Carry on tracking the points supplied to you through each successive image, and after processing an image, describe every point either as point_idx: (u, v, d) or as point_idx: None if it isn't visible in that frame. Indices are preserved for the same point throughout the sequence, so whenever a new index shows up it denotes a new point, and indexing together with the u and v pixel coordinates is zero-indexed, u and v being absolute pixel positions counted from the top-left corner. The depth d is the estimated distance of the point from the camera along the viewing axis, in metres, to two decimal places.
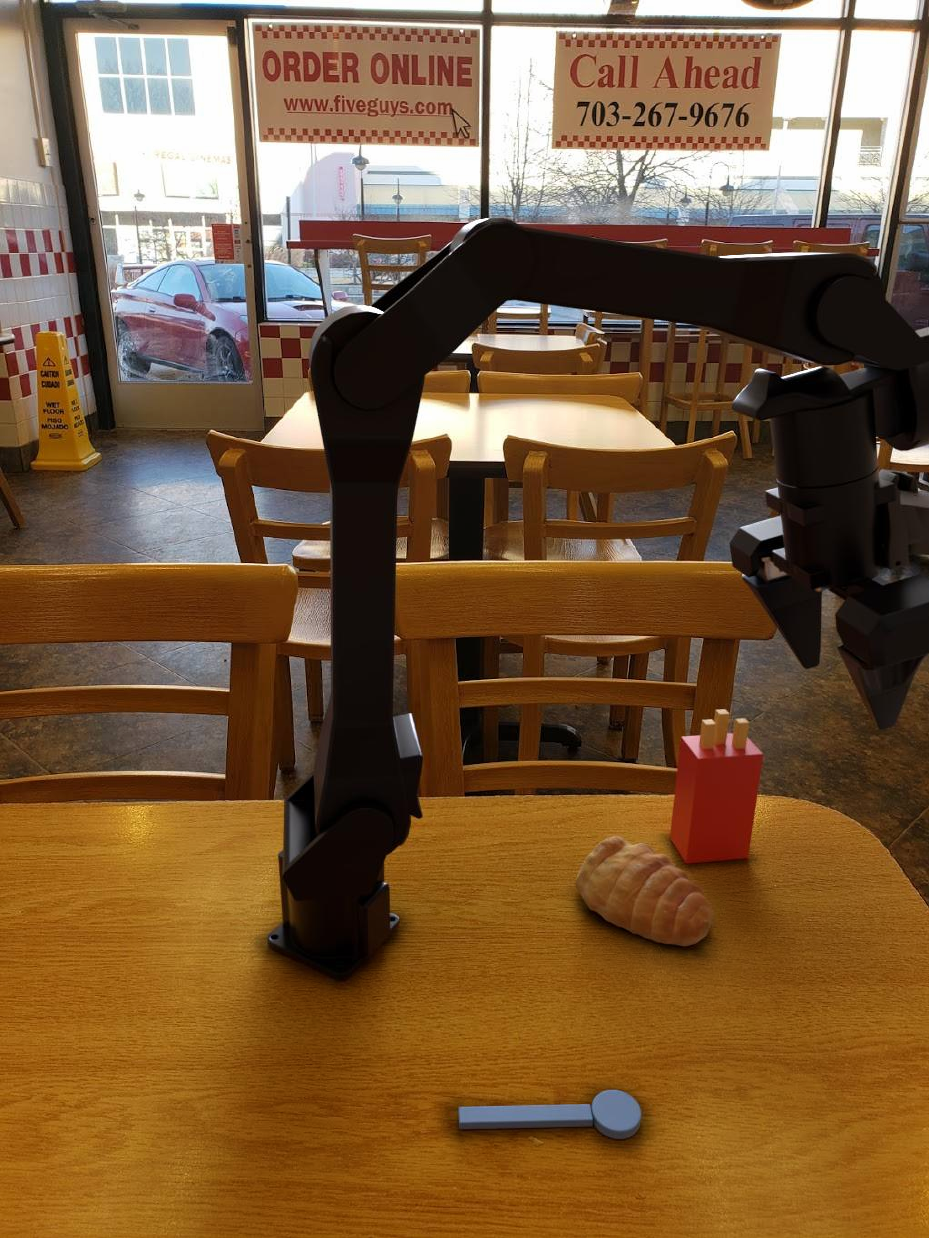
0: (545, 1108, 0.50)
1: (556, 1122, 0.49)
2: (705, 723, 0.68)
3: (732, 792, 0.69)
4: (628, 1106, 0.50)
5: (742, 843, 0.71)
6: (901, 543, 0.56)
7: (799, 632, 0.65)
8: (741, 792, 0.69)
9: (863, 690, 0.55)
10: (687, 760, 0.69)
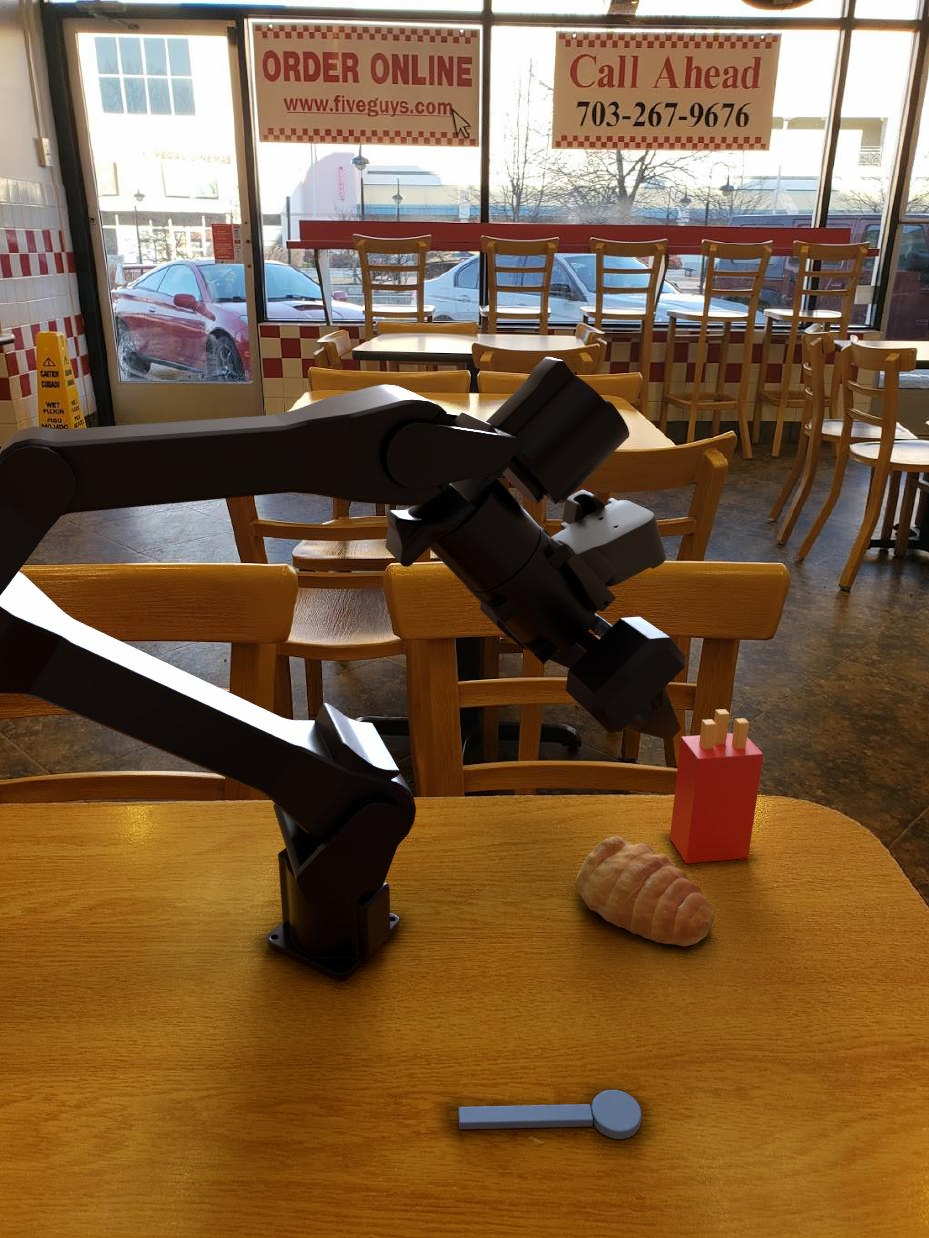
0: (545, 1108, 0.50)
1: (556, 1122, 0.49)
2: (705, 723, 0.68)
3: (732, 792, 0.69)
4: (628, 1106, 0.50)
5: (742, 843, 0.71)
6: (597, 587, 0.57)
7: (578, 658, 0.67)
8: (741, 792, 0.69)
9: (630, 729, 0.58)
10: (687, 760, 0.69)
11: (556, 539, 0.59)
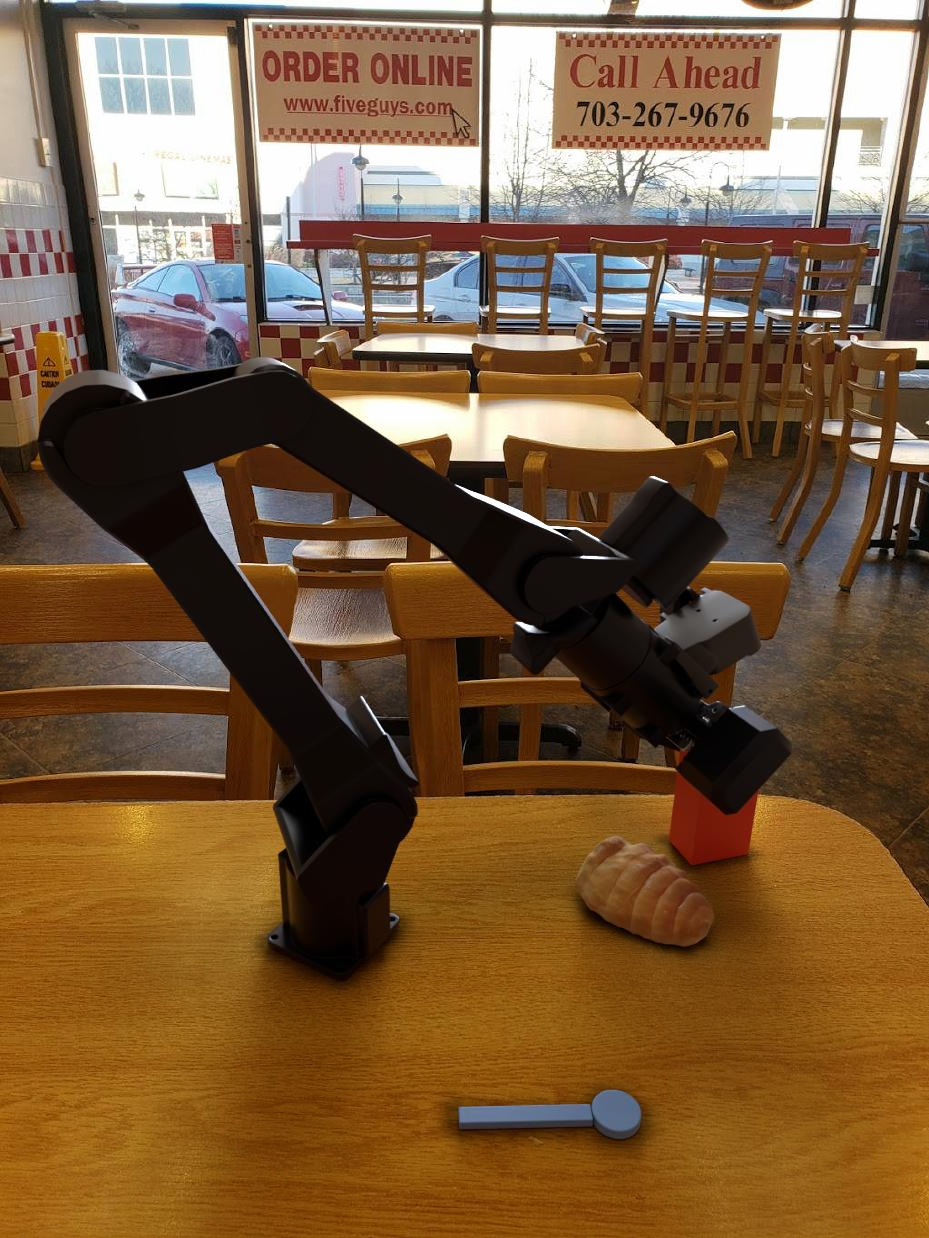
0: (545, 1108, 0.50)
1: (556, 1122, 0.49)
2: None
3: None
4: (628, 1106, 0.50)
5: (743, 840, 0.71)
6: (703, 678, 0.62)
7: None
8: None
9: None
10: None
11: (659, 632, 0.65)
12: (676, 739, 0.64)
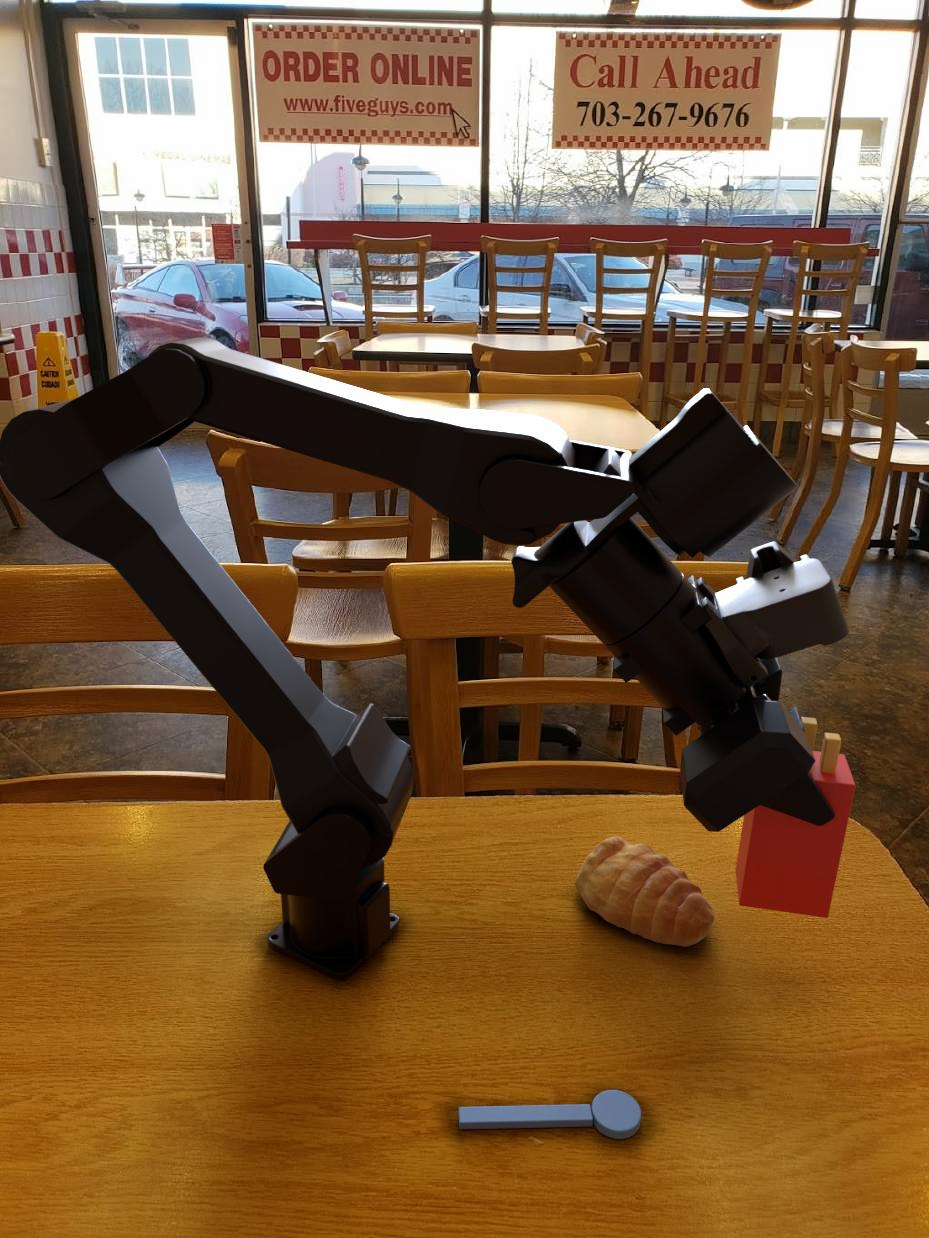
0: (545, 1108, 0.50)
1: (556, 1122, 0.49)
2: None
3: (807, 827, 0.52)
4: (628, 1106, 0.50)
5: (820, 897, 0.54)
6: (742, 659, 0.48)
7: None
8: (821, 830, 0.52)
9: None
10: None
11: (718, 596, 0.51)
12: (704, 731, 0.50)
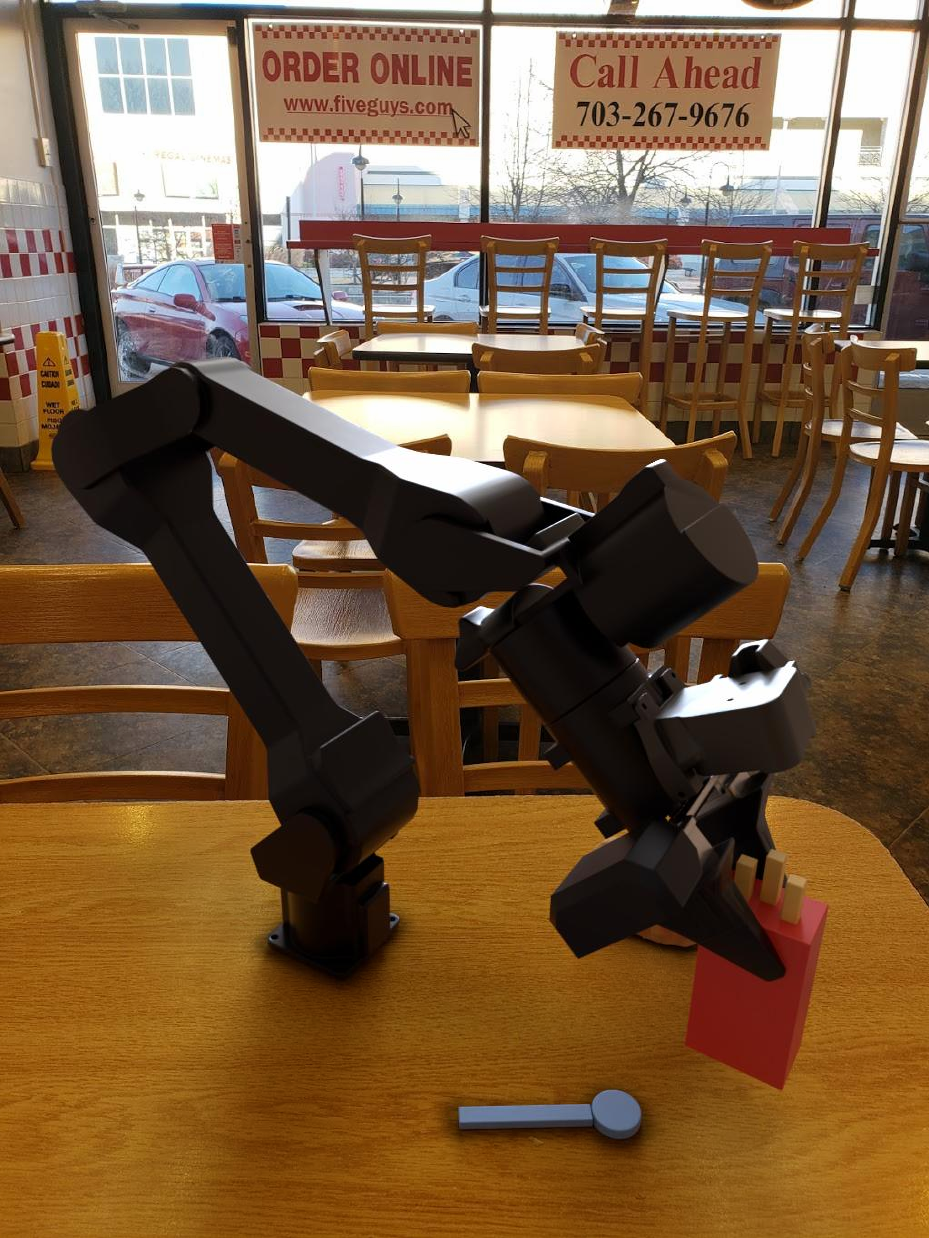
0: (545, 1108, 0.50)
1: (556, 1122, 0.49)
2: (739, 860, 0.45)
3: (756, 979, 0.45)
4: (628, 1106, 0.50)
5: (772, 1063, 0.46)
6: (669, 770, 0.42)
7: None
8: (772, 987, 0.44)
9: None
10: None
11: (681, 692, 0.45)
12: None
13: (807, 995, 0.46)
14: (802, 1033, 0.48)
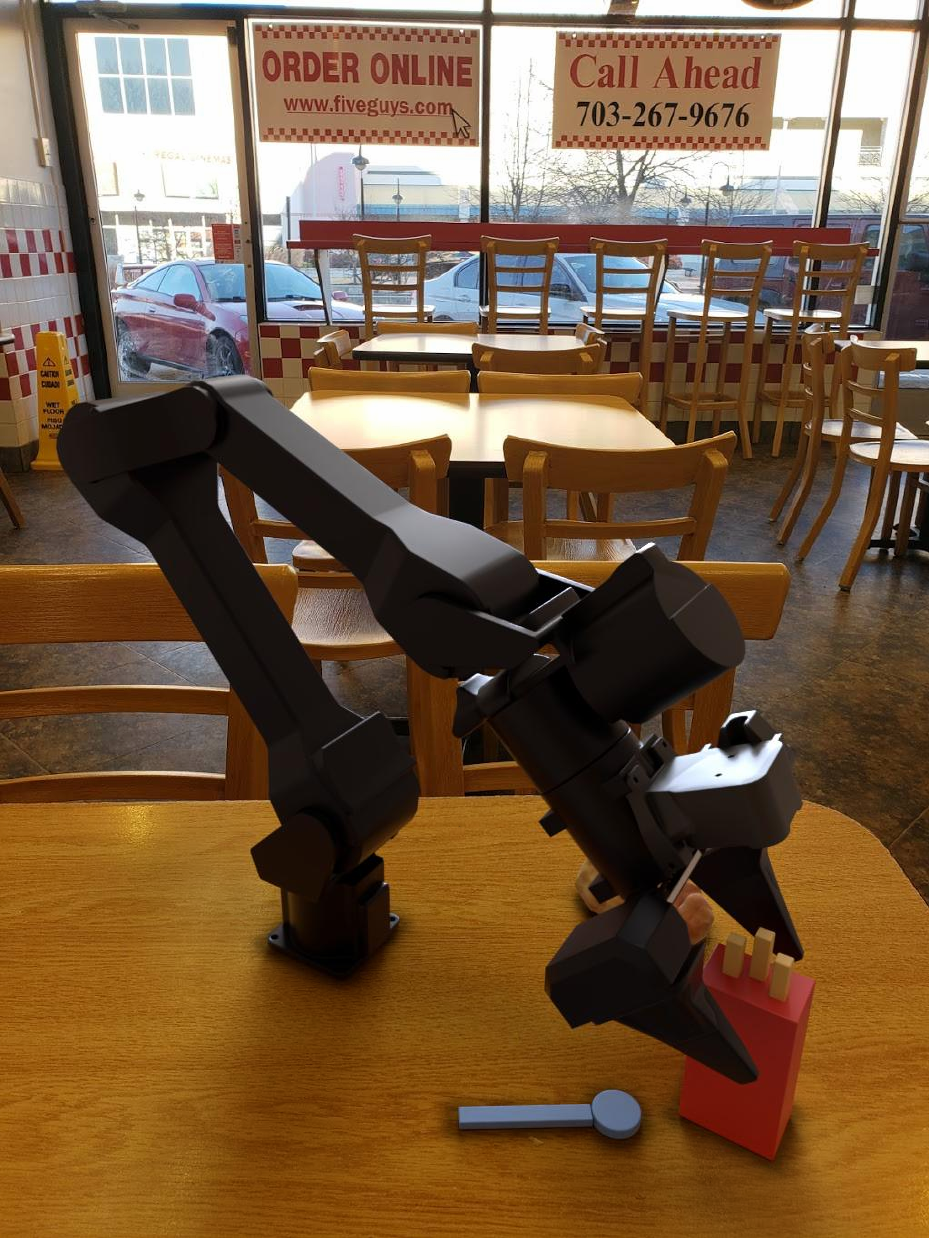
0: (545, 1108, 0.50)
1: (556, 1122, 0.49)
2: (728, 938, 0.47)
3: None
4: (628, 1106, 0.50)
5: (763, 1135, 0.47)
6: (659, 842, 0.43)
7: (753, 918, 0.51)
8: (761, 1061, 0.46)
9: None
10: None
11: (672, 762, 0.47)
12: None
13: (796, 1067, 0.47)
14: (792, 1102, 0.49)
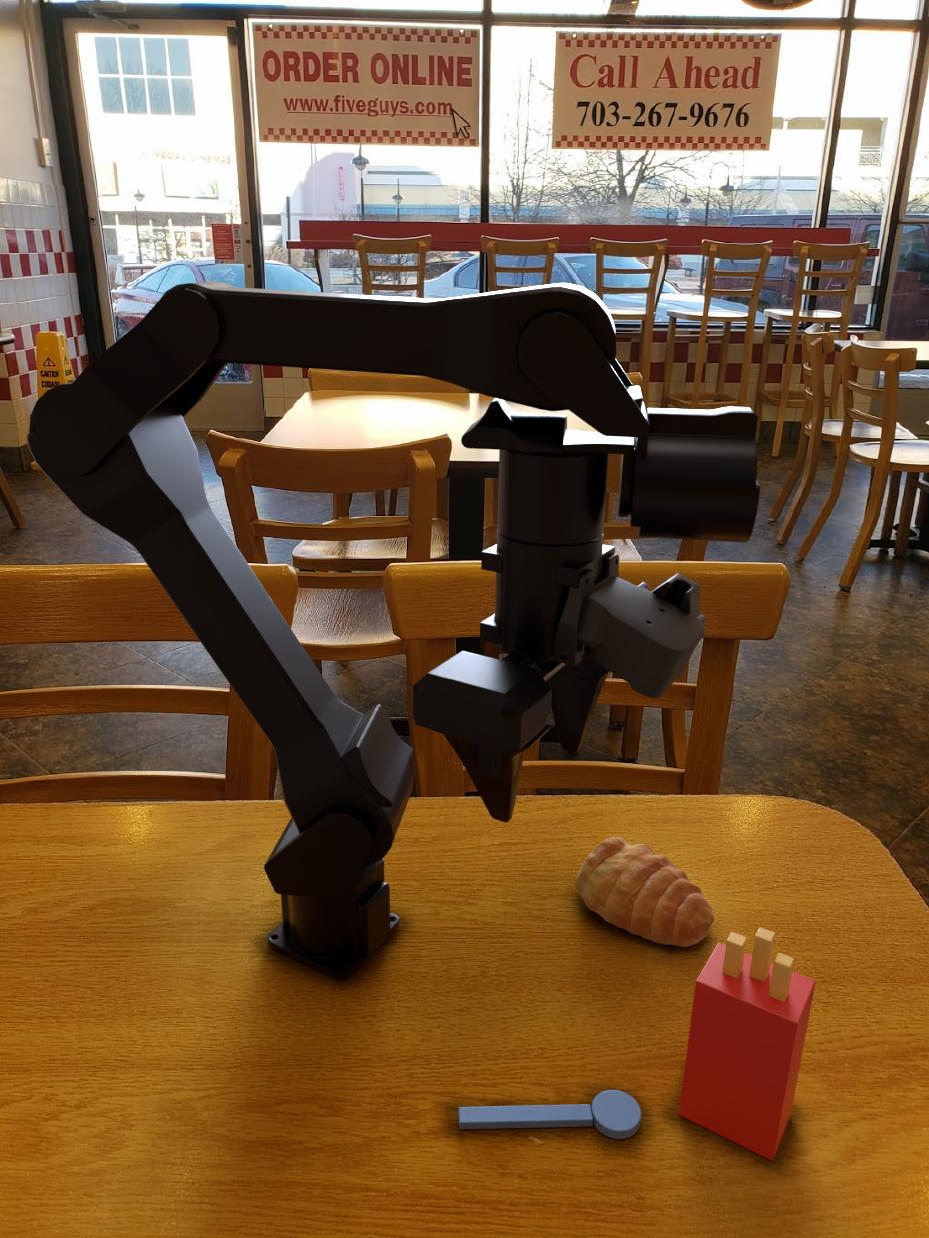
0: (545, 1108, 0.50)
1: (556, 1122, 0.49)
2: (728, 938, 0.47)
3: (746, 1054, 0.46)
4: (628, 1106, 0.50)
5: (763, 1135, 0.47)
6: (568, 637, 0.49)
7: (564, 706, 0.59)
8: (762, 1061, 0.46)
9: None
10: None
11: (613, 580, 0.51)
12: None
13: (796, 1067, 0.47)
14: (792, 1102, 0.49)
